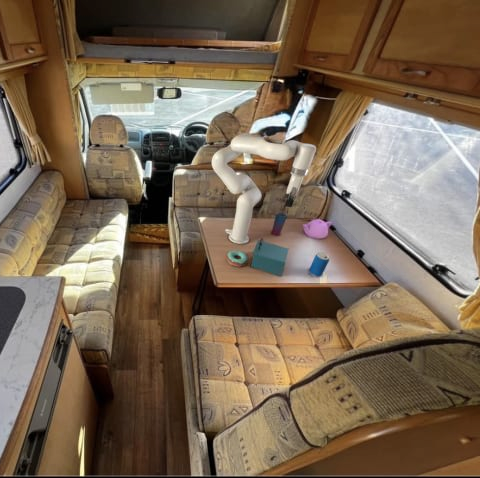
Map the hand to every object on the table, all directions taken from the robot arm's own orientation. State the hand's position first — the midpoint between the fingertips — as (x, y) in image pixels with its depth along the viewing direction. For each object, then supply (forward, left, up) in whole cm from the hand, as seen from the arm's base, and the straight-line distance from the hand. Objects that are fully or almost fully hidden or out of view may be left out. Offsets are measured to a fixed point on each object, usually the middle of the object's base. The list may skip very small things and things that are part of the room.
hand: (289, 202), depth 136 cm
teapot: (+20, +34, -34) cm, 52 cm away
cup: (-2, +22, -34) cm, 40 cm away
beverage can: (+23, -8, -34) cm, 42 cm away
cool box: (-1, -13, -33) cm, 36 cm away
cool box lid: (-1, -13, -24) cm, 28 cm away
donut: (-17, -19, -34) cm, 42 cm away
